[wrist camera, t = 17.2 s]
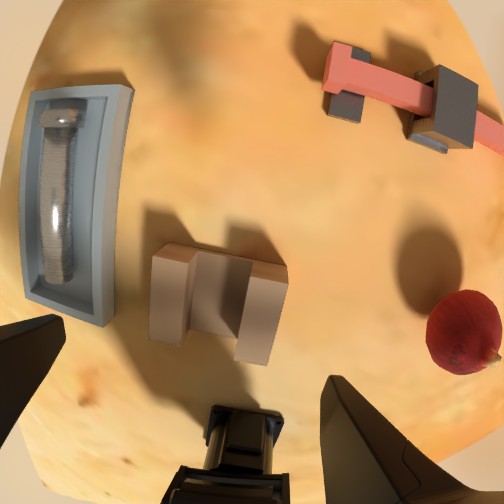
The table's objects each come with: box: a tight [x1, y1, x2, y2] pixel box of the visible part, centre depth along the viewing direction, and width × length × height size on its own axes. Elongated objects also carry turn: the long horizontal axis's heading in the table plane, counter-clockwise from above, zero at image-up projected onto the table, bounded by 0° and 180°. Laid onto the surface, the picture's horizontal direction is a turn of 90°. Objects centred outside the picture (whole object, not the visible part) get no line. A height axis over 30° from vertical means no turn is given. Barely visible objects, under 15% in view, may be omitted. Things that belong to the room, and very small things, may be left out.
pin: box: [38, 109, 87, 284], centre depth 18 cm, size 12×3×3 cm, turn 170°
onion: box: [426, 289, 502, 375], centre depth 16 cm, size 6×6×8 cm
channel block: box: [149, 242, 289, 366], centre depth 19 cm, size 6×8×3 cm
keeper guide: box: [327, 47, 478, 154], centre depth 14 cm, size 5×8×4 cm, turn 80°
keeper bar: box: [321, 42, 504, 156], centre depth 14 cm, size 2×16×2 cm, turn 79°
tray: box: [19, 84, 135, 327], centre depth 19 cm, size 17×9×2 cm, turn 169°
